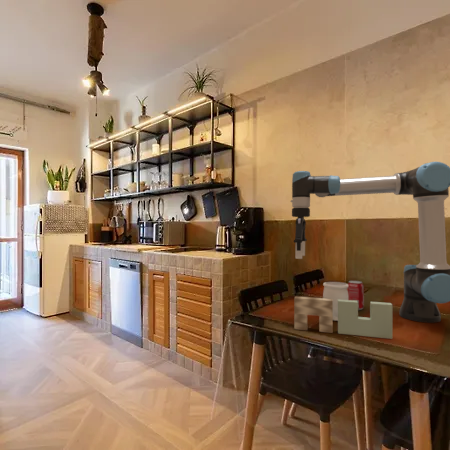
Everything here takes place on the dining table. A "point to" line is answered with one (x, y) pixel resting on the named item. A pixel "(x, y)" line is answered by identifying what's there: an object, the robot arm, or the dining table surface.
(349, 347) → the dining table surface
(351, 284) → the soda can
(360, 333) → the notched green slab
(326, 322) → the wooden arch block
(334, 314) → the jar
